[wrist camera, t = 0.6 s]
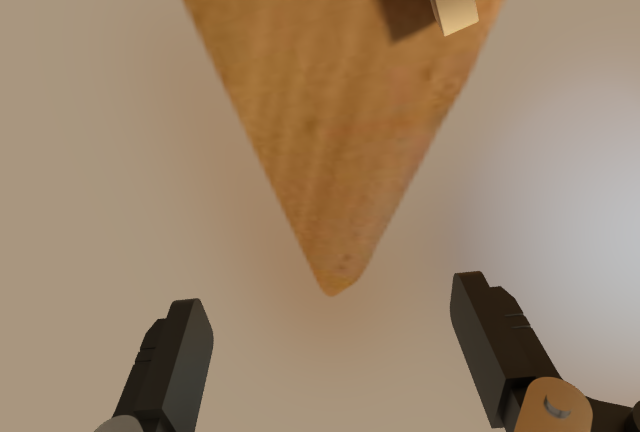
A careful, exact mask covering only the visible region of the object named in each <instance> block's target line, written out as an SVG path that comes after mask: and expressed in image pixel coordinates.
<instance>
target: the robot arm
mask: <svg viewBox="0 0 640 432" xmlns="http://www.w3.org/2000/svg"><path fill="white" fill-rule="evenodd" d="M450 316H451V321H452V325H453V328H454V330H455V333H456V336H457V338H458V341H459V344H460V346H461V349H462V351H463V354H464V356H465V359H466V362H467V365H468V367H469V370H470V372H471V375H472V378H473V380H474V383H475V386H476V388H477V391H478V393H479V396H480V399H481V401H482V404H483V407H484V409H485V412H486V414H487V417H488V420H489V422H490V425H491V428H503V427H505V430H506V432H640V401H638V402H637V403H636V404H635V406H634V407H633V408H631V407H627V406H622V405H617V404H612V403H607V402H603V401H598V400H594V399H591V398H589V397H587V396H585V395H584V394H583V393H582V392H581V391H580V390H578V389H577V388H576V387H575V386H573V385H572V384H570V383H568V382H566V381H564V380H563V379H562V378H561V377H560V375H559V373H558V372H557V370H556V369H555V367H554V365H553V363H552V362H551V360H550V358H549V356H548V355H547V353H546V351H545V350H544V348H543V346H542V344H541V343H540V341H539V339H538V337H537V336H536V334H535V332H534V331H533V329H532V328H531V327H530V324H529V322H528V320H527V318H526V317H525V316H524V315H523V312H522V310H521V308H520V306H519V305H518V303H517V301H516V300H515V298H514V297H513V296H511V295H510V294H509V293H508V292H507V291H505V290H504V289H503V288H502V287H501V286H498V287H489V285H488V283H487V281H486V279H485V277H484V275H483V274H482V272H480V271H474V272H465V273H455V274H454V277H453V284H452V293H451V302H450ZM212 350H213V331H212V328H211V325H210V323H209V320H208V318H207V315H206V313H205V310H204V308H203V305H202V303H201V301H200V300H199V299H198V298H196V299H186V300H176V301H174V302H172V304H171V306H170V309H169V312H168V315H167V318H165V319H158V320H157V321H156V322H155V323H154V324H153V325H152V327H151V328H150V329H149V330H148V332H147V333H146V334H145V337H144V339H143V342H142V344H141V347H140V352H138V355H137V357H136V359H135V365H133V367H132V370H131V372H130V375H129V377H128V380H127V382H126V385H125V387H124V390H123V392H122V395H121V397H120V400H119V402H118V405H117V407H116V410H115V412H114V414H113V416H112V418H111V419H109V420H107V421H106V422H104V423H103V424H101V425H100V426H99V427H98V428H97V429H96V430H95V431H94V432H195V427H196V422H197V418H198V413H199V408H200V404H201V400H202V395H203V391H204V386H205V382H206V377H207V372H208V368H209V363H210V359H211V355H212Z"/></svg>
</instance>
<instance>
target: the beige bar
mask: <svg viewBox="0 0 640 432" xmlns="http://www.w3.org/2000/svg"><path fill="white" fill-rule="evenodd" d="M430 1H431V5H432V8H433V12H434V16H435V19H436V21H437V23H438V25H439V27H440V28H441V30H442V32H443V34H444V36H447V35H449V34H451V33H454V32H456V31H458V30H460V29H463V28H465V27H467V26H469V25H472V24H474V23H476V22H478V21H479V19H478V14H477V8H476V3H475V0H430Z"/></svg>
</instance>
